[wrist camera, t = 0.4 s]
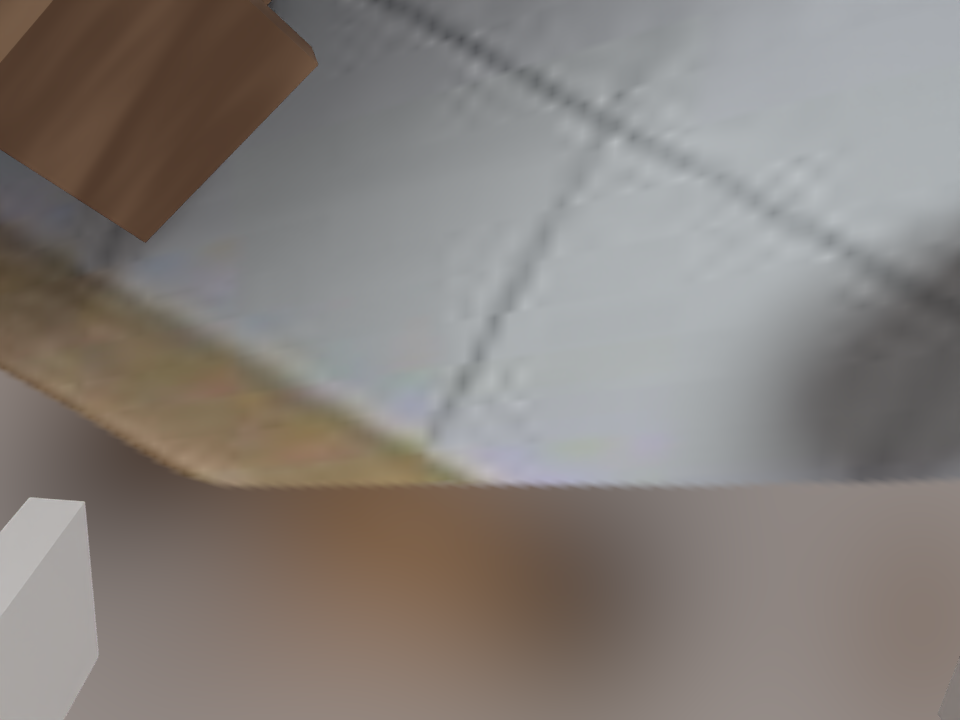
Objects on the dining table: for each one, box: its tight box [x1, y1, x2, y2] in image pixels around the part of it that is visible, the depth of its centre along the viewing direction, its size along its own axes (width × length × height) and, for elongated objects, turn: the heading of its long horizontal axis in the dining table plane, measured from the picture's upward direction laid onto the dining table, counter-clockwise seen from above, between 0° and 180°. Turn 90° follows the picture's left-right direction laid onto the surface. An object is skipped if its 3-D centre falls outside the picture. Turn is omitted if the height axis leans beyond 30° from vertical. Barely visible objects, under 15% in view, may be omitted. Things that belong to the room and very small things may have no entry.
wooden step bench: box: [0, 0, 318, 243], centre depth 32 cm, size 13×9×14 cm
